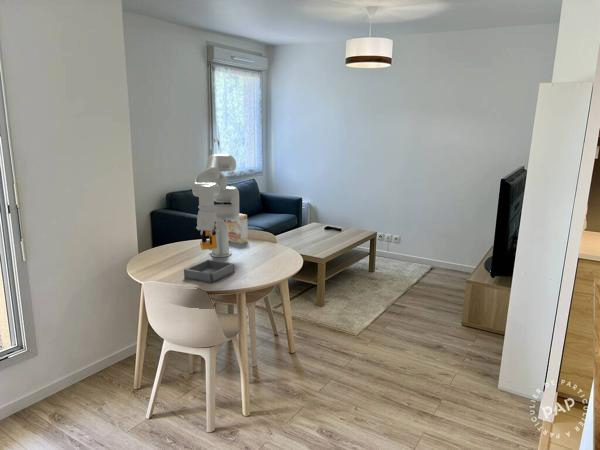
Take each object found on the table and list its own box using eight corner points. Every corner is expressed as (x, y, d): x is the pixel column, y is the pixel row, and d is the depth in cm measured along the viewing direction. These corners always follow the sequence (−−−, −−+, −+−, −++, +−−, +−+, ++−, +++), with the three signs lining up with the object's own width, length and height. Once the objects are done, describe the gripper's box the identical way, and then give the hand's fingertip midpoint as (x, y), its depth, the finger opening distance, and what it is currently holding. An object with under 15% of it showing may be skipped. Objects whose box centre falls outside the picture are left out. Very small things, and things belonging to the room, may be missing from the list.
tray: (184, 278, 233) (183, 269, 232) (208, 267, 250) (207, 259, 249) (212, 283, 225) (211, 274, 224) (234, 272, 242) (234, 263, 241)
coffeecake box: (226, 240, 310) (225, 213, 306) (233, 238, 316) (232, 211, 311) (240, 244, 301) (239, 216, 297) (248, 242, 306) (247, 214, 302)
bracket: (200, 246, 238) (198, 224, 235) (213, 244, 241) (212, 223, 238) (203, 251, 228) (201, 228, 226) (217, 249, 231) (215, 227, 228)
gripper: (189, 208, 230) (191, 242, 234) (215, 211, 223) (217, 246, 227) (198, 206, 237) (200, 239, 241) (224, 208, 229) (225, 242, 233)
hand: (208, 242), depth 234 cm, fingers closed on bracket, 4 cm apart
